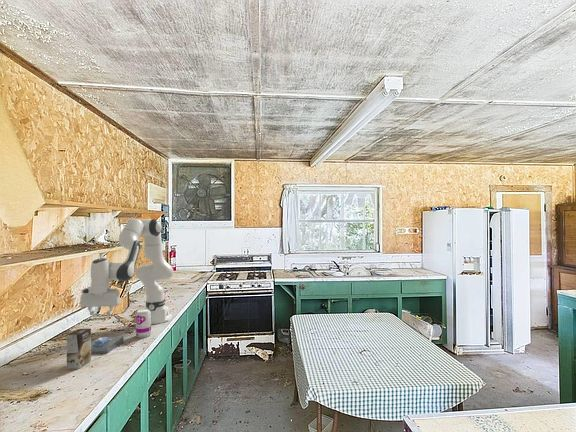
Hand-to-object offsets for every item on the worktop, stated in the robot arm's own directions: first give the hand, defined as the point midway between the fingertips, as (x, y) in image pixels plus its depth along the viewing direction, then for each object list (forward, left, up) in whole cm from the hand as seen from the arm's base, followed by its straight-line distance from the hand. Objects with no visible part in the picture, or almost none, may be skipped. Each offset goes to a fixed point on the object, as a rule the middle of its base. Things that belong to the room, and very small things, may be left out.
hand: (100, 314), depth 183 cm
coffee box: (+20, +1, -19) cm, 27 cm away
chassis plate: (-2, 0, -19) cm, 19 cm away
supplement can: (-20, +14, -19) cm, 31 cm away
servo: (0, 0, -18) cm, 18 cm away
